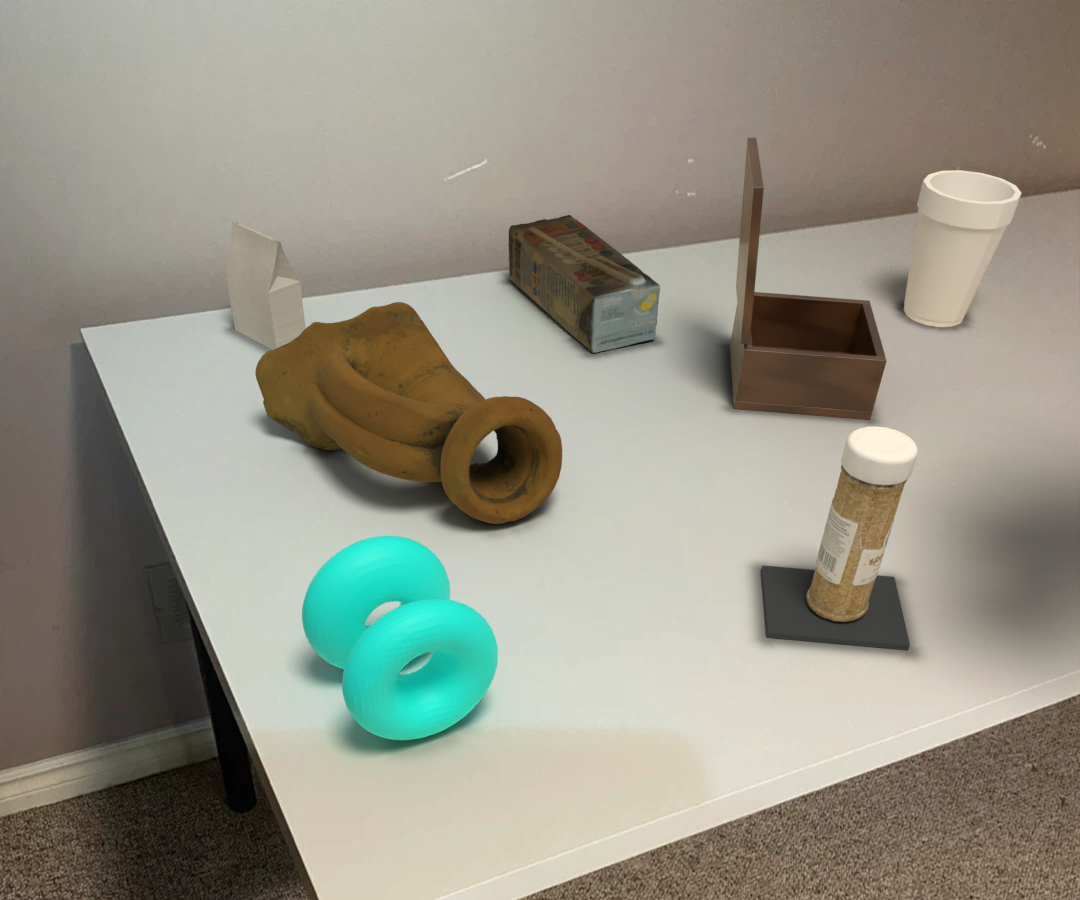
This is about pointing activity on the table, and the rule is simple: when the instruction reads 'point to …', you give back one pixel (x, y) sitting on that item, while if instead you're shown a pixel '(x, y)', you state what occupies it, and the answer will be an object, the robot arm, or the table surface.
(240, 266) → the white gable top carton
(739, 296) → the box lid
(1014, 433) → the table surface
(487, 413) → the brown looped sculpture
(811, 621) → the felt mat
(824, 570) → the spice jar
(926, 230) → the foam cup
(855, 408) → the walnut box
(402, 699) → the donuts
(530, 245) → the beverage carton
